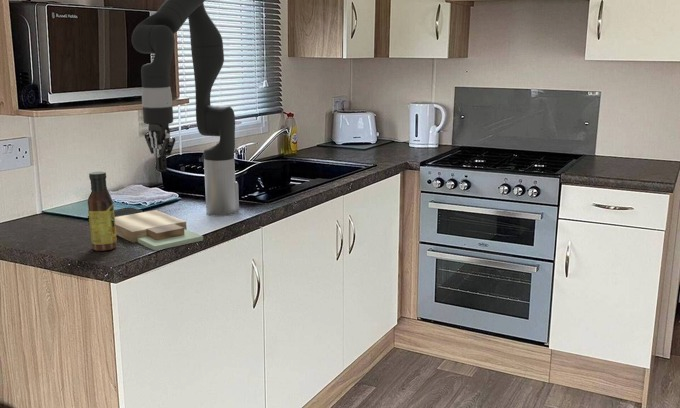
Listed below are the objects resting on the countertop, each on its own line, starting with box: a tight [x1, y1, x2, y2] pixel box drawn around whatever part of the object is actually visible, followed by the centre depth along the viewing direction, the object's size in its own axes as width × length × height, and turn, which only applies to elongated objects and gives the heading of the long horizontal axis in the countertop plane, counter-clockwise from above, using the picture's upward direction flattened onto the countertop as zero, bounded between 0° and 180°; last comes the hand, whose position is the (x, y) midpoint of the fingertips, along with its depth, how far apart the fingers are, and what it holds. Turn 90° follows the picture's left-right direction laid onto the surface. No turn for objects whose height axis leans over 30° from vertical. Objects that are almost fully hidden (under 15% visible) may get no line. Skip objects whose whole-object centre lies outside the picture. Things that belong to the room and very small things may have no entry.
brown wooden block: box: [146, 224, 185, 241], centre depth 184 cm, size 8×6×2 cm
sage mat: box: [137, 229, 204, 251], centre depth 183 cm, size 14×10×1 cm
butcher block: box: [115, 209, 188, 244], centre depth 193 cm, size 16×18×3 cm
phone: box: [87, 206, 143, 219], centre depth 210 cm, size 8×1×15 cm
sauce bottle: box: [87, 171, 118, 252], centre depth 175 cm, size 7×6×20 cm
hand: (161, 170), depth 181 cm, fingers closed
